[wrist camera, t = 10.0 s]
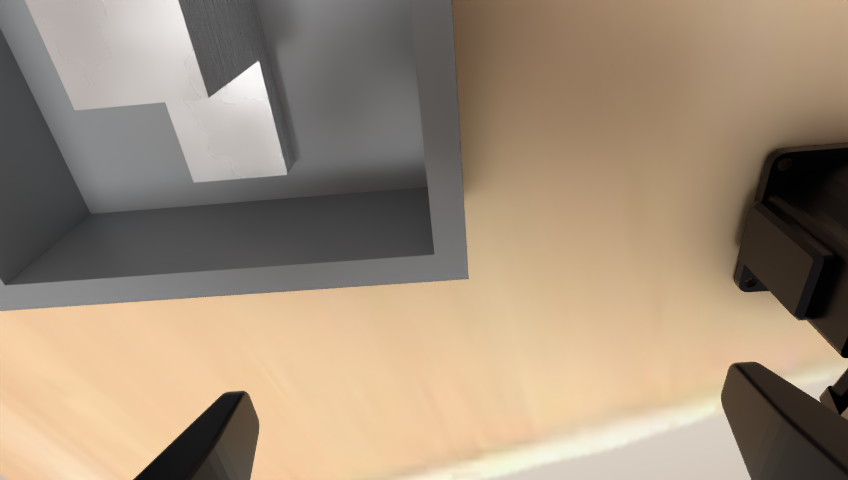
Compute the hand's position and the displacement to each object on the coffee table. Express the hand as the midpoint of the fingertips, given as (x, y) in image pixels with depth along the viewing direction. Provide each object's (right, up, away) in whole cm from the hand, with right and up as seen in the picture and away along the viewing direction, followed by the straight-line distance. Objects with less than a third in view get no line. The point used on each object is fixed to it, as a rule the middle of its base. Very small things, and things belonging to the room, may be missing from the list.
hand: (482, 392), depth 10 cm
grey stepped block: (-8, +9, +8) cm, 15 cm away
